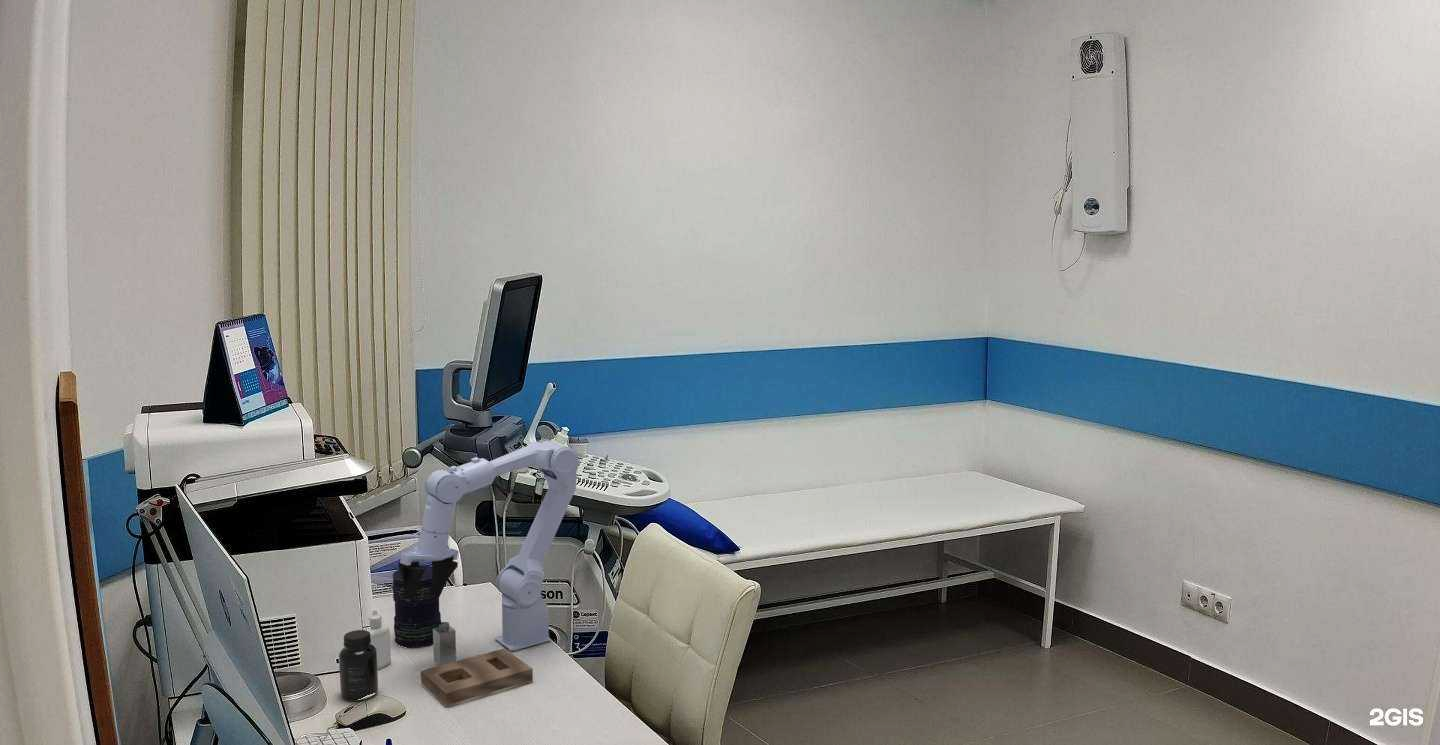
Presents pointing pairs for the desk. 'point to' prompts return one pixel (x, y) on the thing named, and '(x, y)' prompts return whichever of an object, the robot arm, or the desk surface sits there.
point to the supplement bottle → (358, 666)
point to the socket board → (476, 677)
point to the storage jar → (415, 612)
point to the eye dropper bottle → (380, 640)
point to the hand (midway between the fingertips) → (422, 596)
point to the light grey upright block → (444, 644)
